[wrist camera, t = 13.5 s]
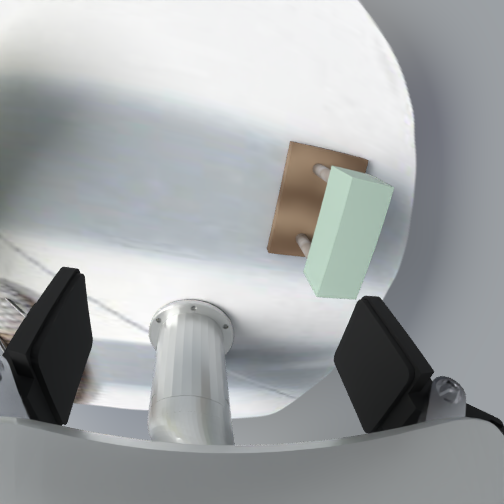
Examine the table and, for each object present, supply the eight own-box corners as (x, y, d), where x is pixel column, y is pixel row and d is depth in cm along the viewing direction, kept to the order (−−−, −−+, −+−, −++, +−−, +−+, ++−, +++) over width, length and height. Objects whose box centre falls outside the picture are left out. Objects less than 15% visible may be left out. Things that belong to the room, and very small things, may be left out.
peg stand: (336, 256, 43) (357, 283, 37) (266, 248, 41) (278, 277, 35) (364, 158, 37) (393, 171, 31) (290, 141, 35) (308, 150, 29)
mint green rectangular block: (369, 174, 31) (394, 187, 26) (339, 275, 36) (355, 299, 31) (331, 165, 30) (352, 177, 25) (303, 271, 35) (316, 297, 30)
